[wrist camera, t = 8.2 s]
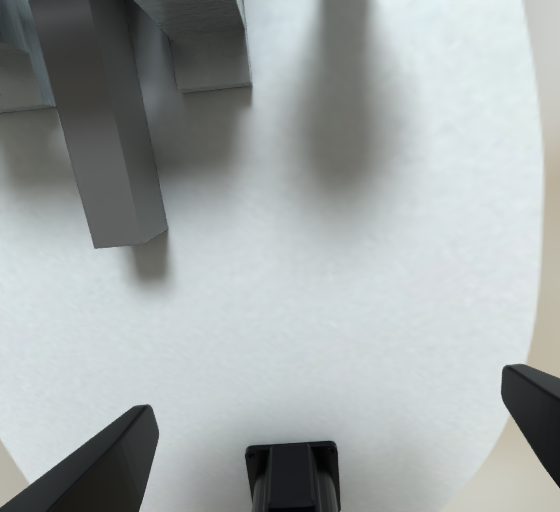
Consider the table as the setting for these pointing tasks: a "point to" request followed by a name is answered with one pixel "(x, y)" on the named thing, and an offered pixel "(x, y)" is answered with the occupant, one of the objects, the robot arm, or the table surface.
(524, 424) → the robot arm
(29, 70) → the gray arch-shaped bracket
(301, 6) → the table surface
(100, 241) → the plug
